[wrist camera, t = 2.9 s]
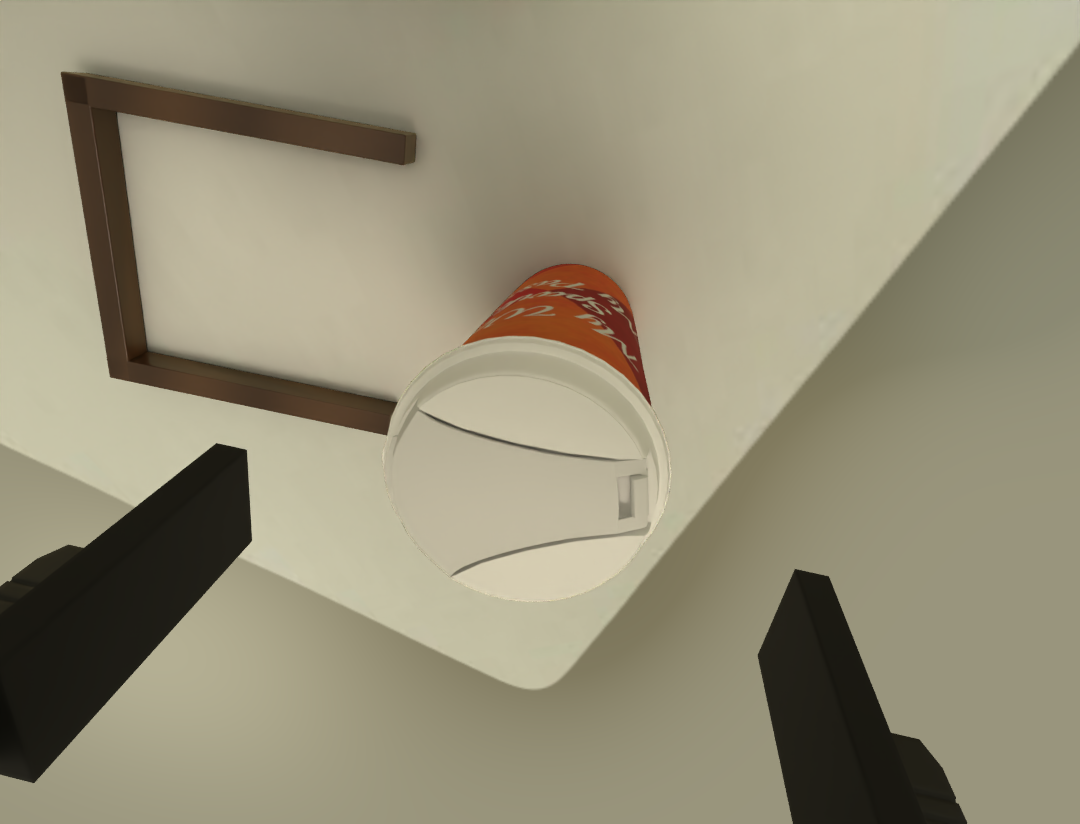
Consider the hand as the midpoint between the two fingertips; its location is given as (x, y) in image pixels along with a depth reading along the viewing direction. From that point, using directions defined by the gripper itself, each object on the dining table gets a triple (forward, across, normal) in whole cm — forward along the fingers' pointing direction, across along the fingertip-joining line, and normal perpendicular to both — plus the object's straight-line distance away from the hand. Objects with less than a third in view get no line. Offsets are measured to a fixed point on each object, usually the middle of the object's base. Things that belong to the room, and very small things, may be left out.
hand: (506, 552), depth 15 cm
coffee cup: (+17, 0, 0) cm, 17 cm away
